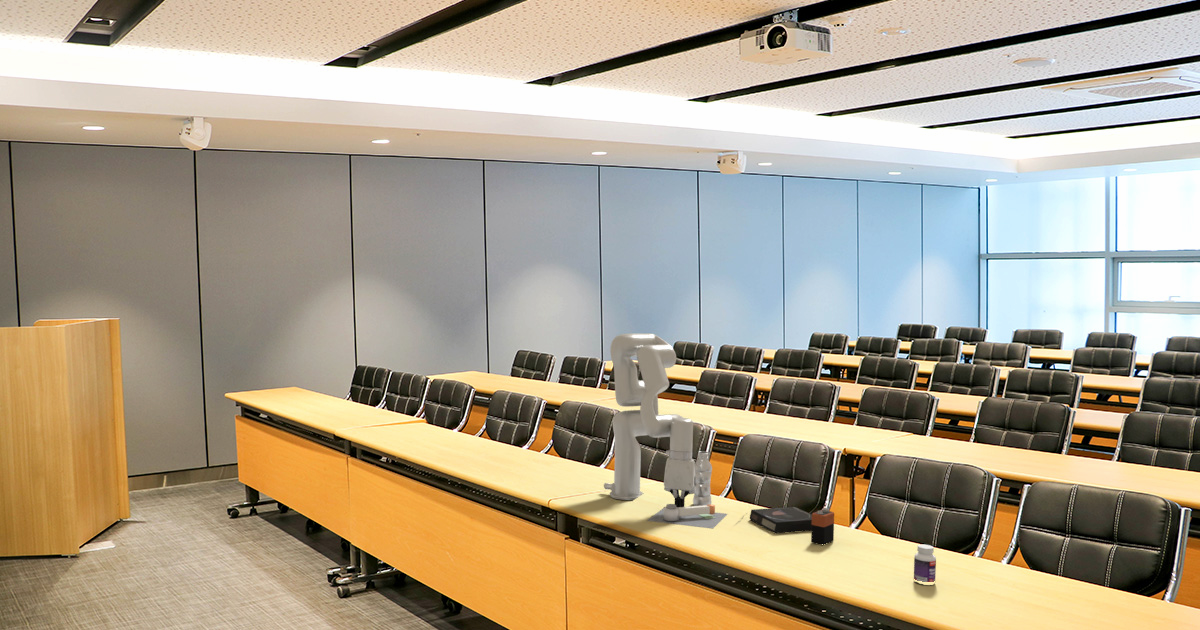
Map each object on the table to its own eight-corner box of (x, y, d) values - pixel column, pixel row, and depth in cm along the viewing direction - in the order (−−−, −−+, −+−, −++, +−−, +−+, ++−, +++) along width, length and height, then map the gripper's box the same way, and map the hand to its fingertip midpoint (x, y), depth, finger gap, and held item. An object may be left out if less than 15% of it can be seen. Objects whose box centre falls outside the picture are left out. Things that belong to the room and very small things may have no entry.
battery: (834, 541, 271) (835, 509, 271) (823, 546, 266) (824, 513, 266) (821, 538, 274) (822, 506, 274) (810, 543, 269) (811, 510, 269)
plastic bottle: (711, 507, 311) (712, 450, 310) (711, 512, 304) (712, 454, 303) (692, 506, 311) (693, 450, 311) (692, 511, 304) (694, 453, 304)
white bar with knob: (660, 517, 288) (661, 503, 288) (710, 513, 295) (711, 500, 294) (667, 521, 283) (667, 507, 283) (717, 517, 290) (718, 503, 290)
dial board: (646, 525, 286) (646, 519, 286) (664, 511, 304) (665, 506, 304) (712, 533, 277) (713, 527, 277) (727, 518, 296) (727, 513, 296)
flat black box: (749, 521, 294) (749, 509, 294) (794, 518, 300) (794, 506, 299) (774, 535, 279) (774, 522, 278) (821, 531, 284) (821, 519, 284)
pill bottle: (932, 587, 230) (934, 550, 230) (911, 583, 233) (912, 547, 233) (937, 581, 235) (938, 545, 234) (916, 578, 238) (917, 542, 237)
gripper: (656, 455, 295) (654, 509, 295) (699, 459, 289) (698, 514, 290) (662, 451, 302) (661, 504, 302) (705, 455, 296) (703, 509, 297)
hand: (679, 509), depth 296 cm, fingers closed
